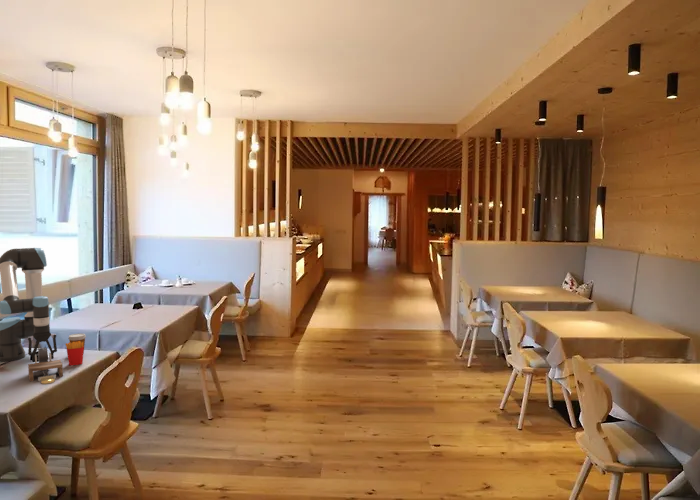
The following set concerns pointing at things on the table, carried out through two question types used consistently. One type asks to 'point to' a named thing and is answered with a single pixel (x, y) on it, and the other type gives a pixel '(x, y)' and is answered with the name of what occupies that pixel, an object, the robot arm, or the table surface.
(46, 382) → the brass disc
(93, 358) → the table surface
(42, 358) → the steel scraper
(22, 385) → the table surface
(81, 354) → the french fries
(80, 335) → the disposable coffee cup
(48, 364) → the walnut bench
